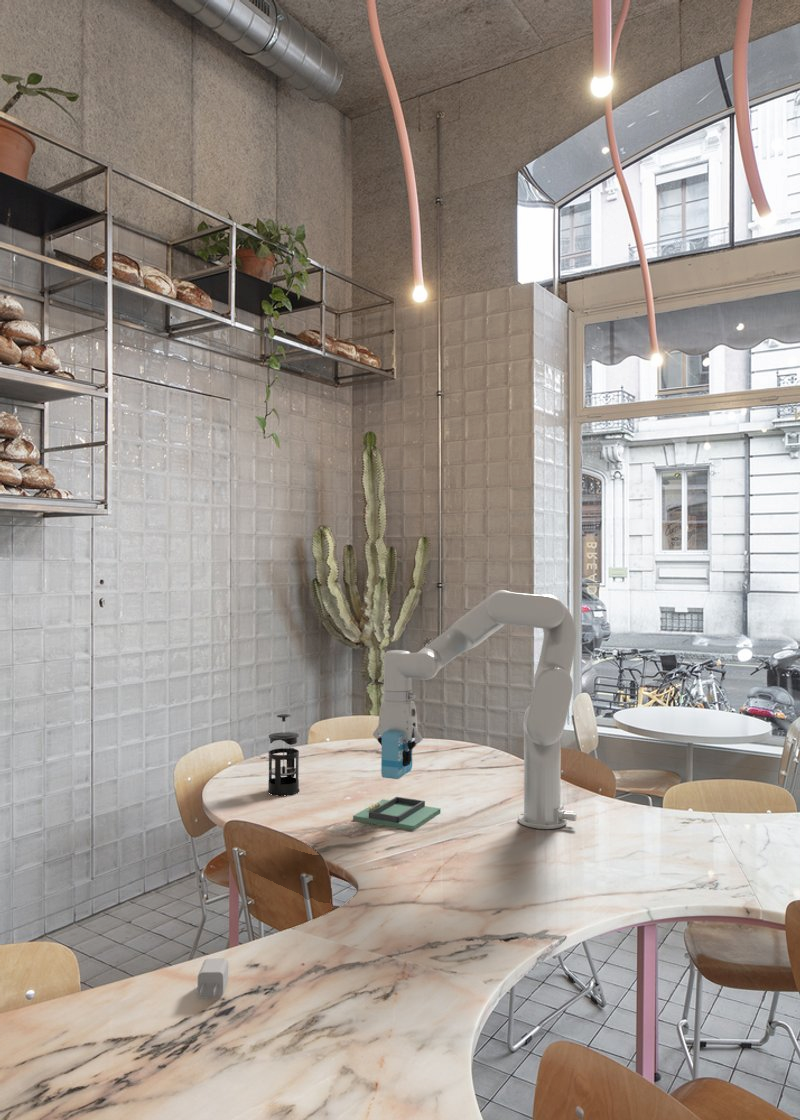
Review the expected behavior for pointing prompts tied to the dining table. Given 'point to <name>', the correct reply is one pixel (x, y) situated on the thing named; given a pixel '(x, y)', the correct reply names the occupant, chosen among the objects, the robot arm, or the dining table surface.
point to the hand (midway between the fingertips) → (397, 763)
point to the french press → (279, 783)
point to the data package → (393, 756)
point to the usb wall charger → (213, 978)
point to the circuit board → (398, 813)
